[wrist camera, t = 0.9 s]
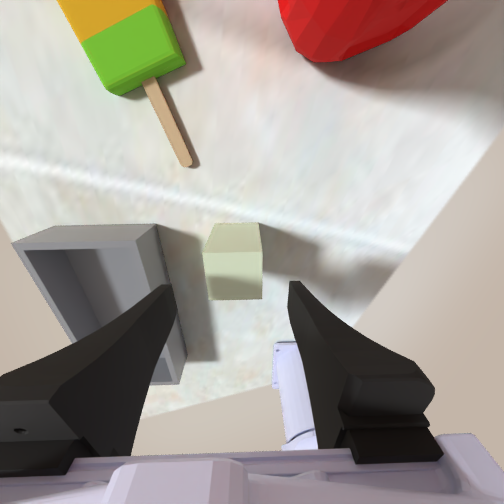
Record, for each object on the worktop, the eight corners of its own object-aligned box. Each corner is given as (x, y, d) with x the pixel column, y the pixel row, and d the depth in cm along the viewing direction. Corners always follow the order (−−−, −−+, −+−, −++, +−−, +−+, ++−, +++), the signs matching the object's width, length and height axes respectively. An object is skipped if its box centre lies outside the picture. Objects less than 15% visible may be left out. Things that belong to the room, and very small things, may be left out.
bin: (187, 354, 27) (178, 384, 23) (117, 356, 27) (98, 386, 23) (155, 223, 19) (135, 240, 15) (54, 225, 18) (10, 243, 15)
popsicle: (99, -166, 10) (69, -230, 8) (221, 153, 17) (218, 154, 15) (12, -105, 11) (-32, -153, 9) (162, 177, 17) (153, 180, 16)
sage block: (258, 260, 21) (262, 299, 15) (218, 260, 20) (208, 300, 15) (258, 222, 19) (262, 251, 13) (215, 223, 19) (202, 253, 13)
